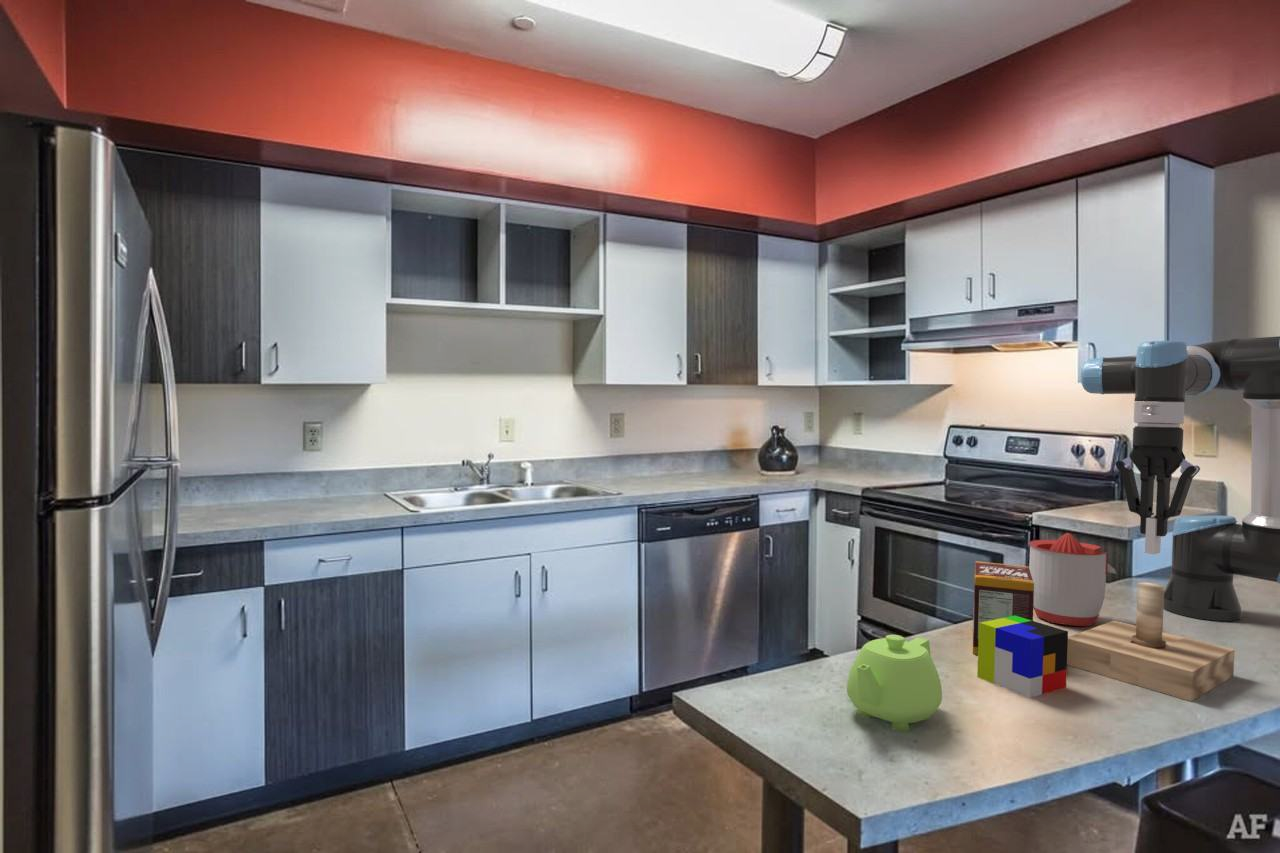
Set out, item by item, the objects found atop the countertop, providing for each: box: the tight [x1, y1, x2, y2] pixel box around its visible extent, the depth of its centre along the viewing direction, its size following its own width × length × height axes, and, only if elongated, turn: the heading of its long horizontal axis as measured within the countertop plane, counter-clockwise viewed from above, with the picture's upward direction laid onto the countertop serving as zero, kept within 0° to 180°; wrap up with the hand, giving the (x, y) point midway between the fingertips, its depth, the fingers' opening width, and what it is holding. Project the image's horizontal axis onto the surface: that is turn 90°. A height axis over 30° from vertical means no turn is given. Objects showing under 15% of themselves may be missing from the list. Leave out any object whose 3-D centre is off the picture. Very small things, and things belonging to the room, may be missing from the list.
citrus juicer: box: [1028, 532, 1117, 628], centre depth 164 cm, size 16×17×20 cm
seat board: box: [1067, 620, 1236, 702], centre depth 134 cm, size 20×20×5 cm
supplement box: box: [972, 560, 1034, 656], centre depth 146 cm, size 10×15×16 cm
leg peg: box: [1132, 581, 1166, 649], centre depth 134 cm, size 5×5×16 cm
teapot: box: [846, 634, 943, 733], centre depth 113 cm, size 20×13×13 cm
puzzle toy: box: [976, 616, 1069, 699], centre depth 128 cm, size 10×10×10 cm
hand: (1152, 552), depth 133 cm, fingers closed
